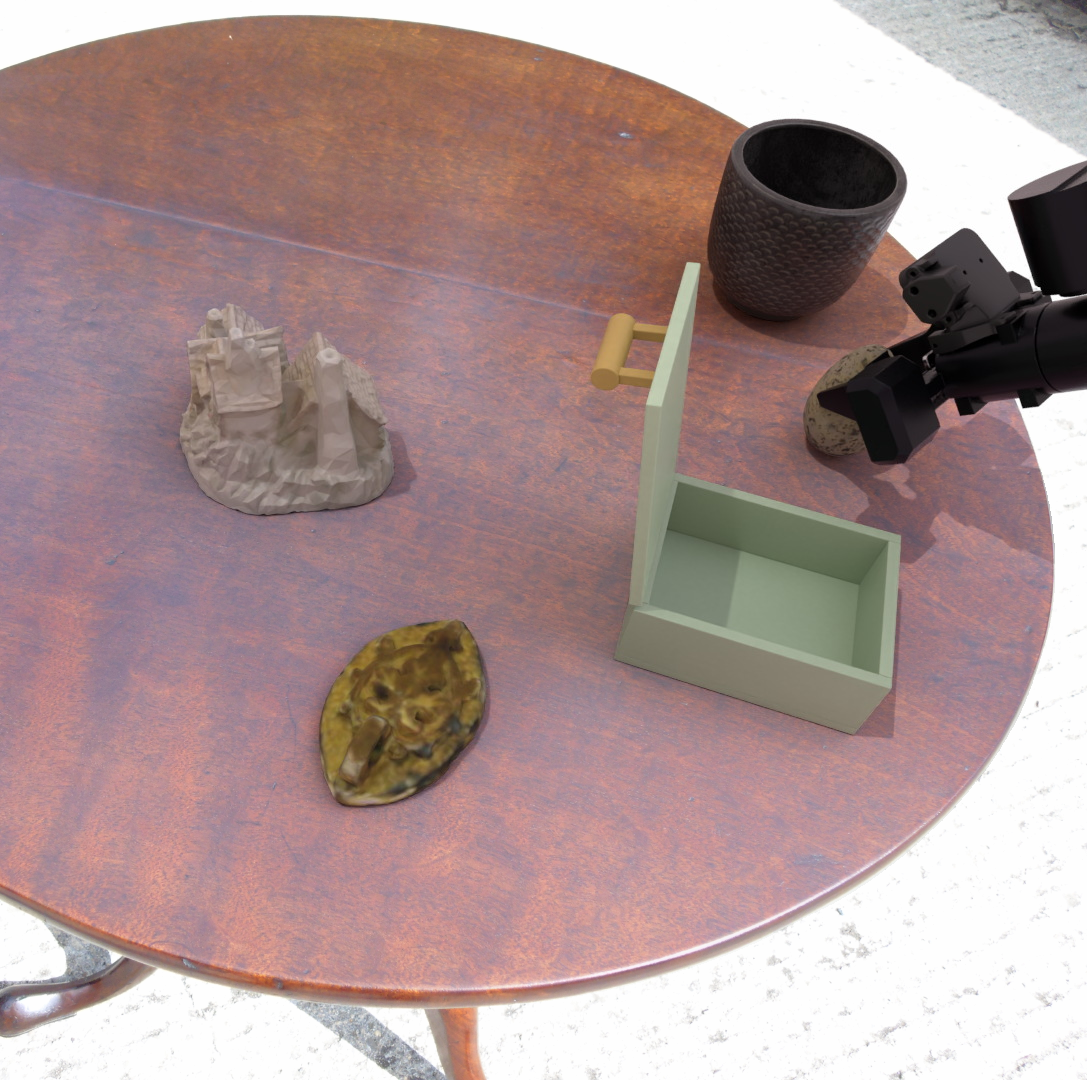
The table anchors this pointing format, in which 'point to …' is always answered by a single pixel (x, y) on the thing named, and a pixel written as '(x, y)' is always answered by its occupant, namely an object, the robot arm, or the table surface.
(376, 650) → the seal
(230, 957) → the table surface
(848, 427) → the decorative egg
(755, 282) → the planter
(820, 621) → the chest
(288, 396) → the ceramic cottage
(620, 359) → the chest lid
